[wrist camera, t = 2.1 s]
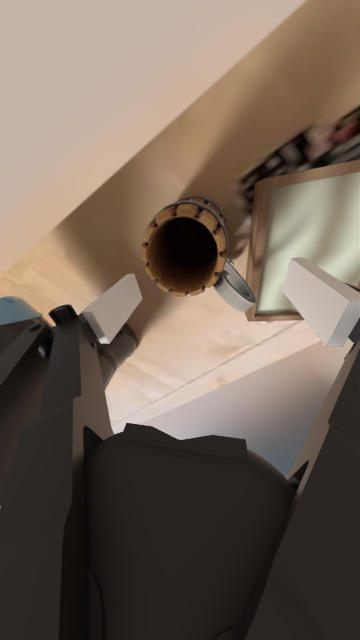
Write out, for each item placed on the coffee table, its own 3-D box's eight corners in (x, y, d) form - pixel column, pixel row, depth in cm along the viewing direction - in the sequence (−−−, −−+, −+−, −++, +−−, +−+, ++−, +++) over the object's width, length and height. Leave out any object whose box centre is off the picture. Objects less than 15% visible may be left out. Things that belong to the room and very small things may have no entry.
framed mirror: (243, 306, 33) (247, 321, 29) (254, 183, 22) (264, 178, 18) (333, 302, 30) (353, 318, 26) (401, 154, 19) (456, 139, 14)
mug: (153, 242, 29) (112, 269, 17) (188, 177, 23) (163, 148, 11) (218, 291, 32) (223, 343, 20) (263, 247, 26) (306, 282, 14)
